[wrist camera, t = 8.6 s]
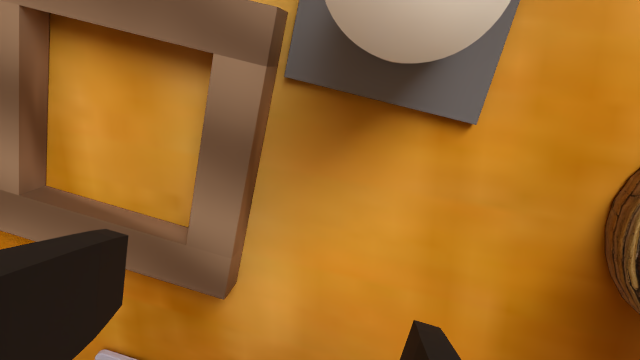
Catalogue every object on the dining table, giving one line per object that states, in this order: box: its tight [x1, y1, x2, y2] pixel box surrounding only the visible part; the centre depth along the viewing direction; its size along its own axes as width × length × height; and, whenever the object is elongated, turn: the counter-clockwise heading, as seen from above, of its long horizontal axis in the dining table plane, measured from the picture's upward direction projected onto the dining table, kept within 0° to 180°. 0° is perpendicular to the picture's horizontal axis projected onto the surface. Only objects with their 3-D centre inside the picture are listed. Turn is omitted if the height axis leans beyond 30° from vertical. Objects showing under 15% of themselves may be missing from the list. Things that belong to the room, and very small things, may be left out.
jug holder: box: [0, 0, 288, 299], centre depth 19 cm, size 13×13×2 cm
